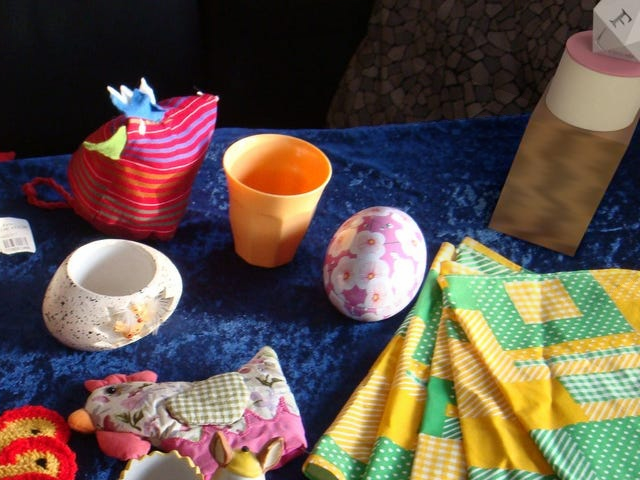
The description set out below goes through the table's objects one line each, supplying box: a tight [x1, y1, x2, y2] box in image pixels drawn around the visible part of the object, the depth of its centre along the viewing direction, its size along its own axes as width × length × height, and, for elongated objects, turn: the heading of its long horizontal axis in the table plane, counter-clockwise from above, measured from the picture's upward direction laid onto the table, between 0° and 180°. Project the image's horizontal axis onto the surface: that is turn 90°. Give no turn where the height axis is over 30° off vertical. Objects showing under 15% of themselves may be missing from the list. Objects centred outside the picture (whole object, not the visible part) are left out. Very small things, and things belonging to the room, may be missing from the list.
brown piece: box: [487, 75, 640, 257], centre depth 105 cm, size 11×11×17 cm
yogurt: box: [546, 29, 640, 131], centre depth 97 cm, size 10×10×7 cm
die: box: [592, 0, 640, 64], centre depth 91 cm, size 8×9×10 cm
